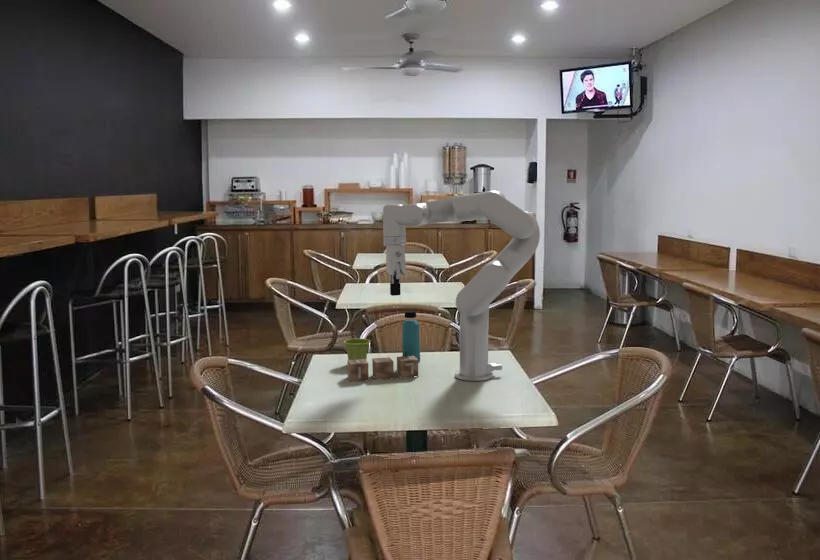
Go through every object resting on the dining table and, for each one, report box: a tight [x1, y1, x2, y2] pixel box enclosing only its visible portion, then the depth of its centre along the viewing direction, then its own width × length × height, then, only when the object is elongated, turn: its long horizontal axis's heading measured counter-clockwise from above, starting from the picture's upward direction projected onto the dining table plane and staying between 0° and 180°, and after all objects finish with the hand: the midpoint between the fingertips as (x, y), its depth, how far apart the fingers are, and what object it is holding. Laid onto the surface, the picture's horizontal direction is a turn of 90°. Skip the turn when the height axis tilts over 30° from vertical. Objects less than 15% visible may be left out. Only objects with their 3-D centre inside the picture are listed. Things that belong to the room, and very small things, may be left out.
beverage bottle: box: [401, 310, 421, 364], centre depth 253 cm, size 6×7×20 cm
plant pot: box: [343, 338, 371, 361], centre depth 257 cm, size 9×9×9 cm
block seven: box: [396, 355, 419, 379], centre depth 242 cm, size 6×6×6 cm
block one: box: [347, 359, 370, 383], centre depth 238 cm, size 6×6×6 cm
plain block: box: [371, 356, 395, 381], centre depth 240 cm, size 6×6×6 cm
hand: (395, 294), depth 242 cm, fingers closed
